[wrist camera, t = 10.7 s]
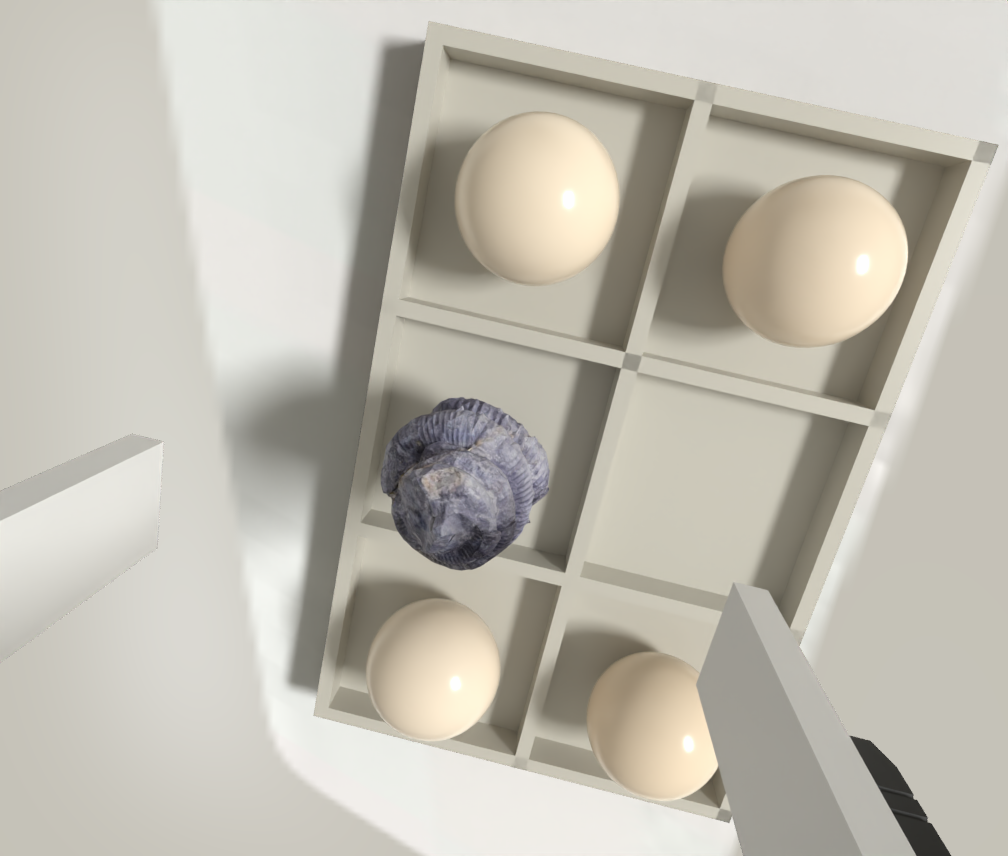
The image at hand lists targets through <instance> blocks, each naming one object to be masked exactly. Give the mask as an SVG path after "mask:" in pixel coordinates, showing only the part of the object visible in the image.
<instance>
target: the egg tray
mask: <svg viewBox="0 0 1008 856" xmlns="http://www.w3.org/2000/svg"><path fill="white" fill-rule="evenodd" d="M532 111H545V112H552V113H557V114H560V115H564V116H567V117H569V118H571V119H573V120H576V121H577V122H579V123H581V124H582V125H584V126H585V127H587V128H588V129H589V130H590V131H591V132H592V133H593V134H595V136H596V137H597V138H598V139H599V140H600V141H601V142H602V144H603V145H604V147H605V148H606V150H607V151H608V153H609V155H610V157H611V159H612V161H613V163H614V166H615V169H616V172H617V177H618V182H619V190H620V204H619V212H618V218H617V222H616V225H615V228H614V231H613V233H612V236H611V238H610V240H609V242H608V244H607V245H606V247H605V248H604V250H603V251H602V253H601V254H600V255H599V256H598V258H597V259H596V260H595V261H594V262H593V263H592V264H591V265H590V266H589V267H587V268H586V269H585V270H583V271H582V272H581V273H579V274H578V275H576V276H574V277H572V278H570V279H568V280H565V281H563V282H560V283H557V284H552V285H547V286H525V285H519V284H515V283H512V282H509V281H507V280H504V279H502V278H500V277H498V276H496V275H495V274H493V273H492V272H490V271H489V270H487V269H486V268H485V267H484V266H483V265H481V264H480V262H479V261H478V260H477V259H476V258H475V257H474V256H473V254H472V253H471V252H470V250H469V249H468V247H467V245H466V244H465V242H464V240H463V238H462V235H461V233H460V230H459V227H458V223H457V219H456V214H455V187H456V181H457V177H458V174H459V171H460V168H461V165H462V163H463V161H464V159H465V157H466V155H467V153H468V151H469V150H470V148H471V147H472V146H473V144H474V143H475V142H476V140H477V139H478V138H479V137H480V136H481V135H482V134H483V133H484V132H485V131H487V130H488V129H489V128H490V127H492V126H493V125H495V124H496V123H498V122H500V121H501V120H504V119H506V118H508V117H510V116H513V115H517V114H520V113H525V112H532ZM997 148H998V145H997V144H992V143H988V142H983V141H978V140H974V139H969V138H965V137H960V136H955V135H951V134H946V133H942V132H937V131H932V130H928V129H923V128H918V127H914V126H909V125H905V124H900V123H895V122H891V121H886V120H882V119H877V118H872V117H868V116H863V115H859V114H854V113H849V112H845V111H840V110H836V109H831V108H826V107H822V106H817V105H813V104H808V103H803V102H799V101H794V100H790V99H785V98H780V97H776V96H771V95H767V94H762V93H757V92H753V91H748V90H744V89H739V88H734V87H730V86H725V85H721V84H716V83H711V82H707V81H702V80H698V79H693V78H688V77H684V76H679V75H674V74H670V73H665V72H661V71H656V70H651V69H647V68H642V67H638V66H633V65H628V64H624V63H619V62H615V61H610V60H605V59H601V58H596V57H592V56H587V55H582V54H578V53H573V52H569V51H564V50H559V49H555V48H550V47H546V46H541V45H536V44H532V43H527V42H523V41H518V40H513V39H509V38H504V37H500V36H495V35H490V34H486V33H481V32H477V31H472V30H467V29H463V28H458V27H454V26H449V25H444V24H440V23H435V22H430V21H429V22H428V28H427V34H426V40H425V46H424V52H423V58H422V64H421V70H420V76H419V82H418V88H417V94H416V100H415V106H414V112H413V118H412V124H411V130H410V136H409V142H408V149H407V155H406V161H405V167H404V173H403V179H402V185H401V191H400V197H399V203H398V209H397V215H396V221H395V227H394V233H393V239H392V245H391V251H390V257H389V263H388V269H387V275H386V281H385V287H384V293H383V299H382V305H381V311H380V317H379V323H378V329H377V336H376V342H375V348H374V354H373V360H372V366H371V372H370V378H369V384H368V390H367V396H366V402H365V408H364V414H363V420H362V426H361V432H360V438H359V444H358V450H357V456H356V462H355V468H354V474H353V480H352V486H351V492H350V498H349V504H348V510H347V516H346V523H345V529H344V535H343V541H342V547H341V553H340V559H339V565H338V571H337V577H336V583H335V589H334V595H333V601H332V607H331V613H330V619H329V625H328V631H327V637H326V643H325V649H324V655H323V661H322V667H321V673H320V679H319V685H318V691H317V697H316V703H315V710H314V716H317V717H321V718H325V719H328V720H332V721H336V722H340V723H344V724H348V725H352V726H356V727H359V728H363V729H367V730H371V731H375V732H379V733H383V734H387V735H390V736H394V737H398V738H402V739H406V740H410V741H414V742H418V743H421V744H425V745H429V746H433V747H437V748H441V749H445V750H449V751H452V752H456V753H460V754H464V755H468V756H472V757H476V758H480V759H484V760H487V761H491V762H495V763H499V764H503V765H507V766H511V767H515V768H518V769H522V770H526V771H530V772H534V773H538V774H542V775H546V776H549V777H553V778H557V779H561V780H565V781H569V782H573V783H577V784H580V785H584V786H588V787H592V788H596V789H600V790H604V791H608V792H611V793H615V794H619V795H623V796H627V797H631V798H635V799H639V800H643V801H646V802H650V803H654V804H658V805H662V806H666V807H670V808H674V809H677V810H681V811H685V812H689V813H693V814H697V815H701V816H705V817H708V818H712V819H716V820H720V821H724V822H728V823H729V822H730V820H731V817H732V813H731V810H730V806H729V802H728V799H727V795H726V792H725V788H724V784H723V781H722V777H721V773H720V770H719V766H718V768H717V770H716V771H715V773H714V774H713V776H712V777H711V778H710V780H709V781H708V782H707V783H706V784H705V785H704V786H703V787H701V788H700V789H699V790H697V791H696V792H694V793H692V794H691V795H688V796H686V797H684V798H681V799H677V800H672V801H653V800H648V799H645V798H642V797H638V796H636V795H634V794H631V793H630V792H628V791H626V790H624V789H623V788H622V787H620V786H619V785H618V784H616V783H615V782H614V781H613V780H612V779H611V778H610V777H609V776H608V775H607V773H606V772H605V771H604V770H603V768H602V767H601V766H600V764H599V762H598V761H597V759H596V757H595V755H594V753H593V750H592V748H591V745H590V742H589V738H588V732H587V723H586V718H587V706H588V702H589V698H590V694H591V692H592V689H593V687H594V685H595V684H596V682H597V680H598V678H599V677H600V676H601V675H602V673H603V672H604V671H605V670H606V669H607V668H608V667H609V666H610V665H612V664H613V663H614V662H616V661H618V660H619V659H621V658H623V657H626V656H628V655H631V654H635V653H640V652H660V653H665V654H668V655H672V656H674V657H677V658H679V659H681V660H683V661H685V662H686V663H688V664H690V665H691V666H692V667H693V668H695V669H696V670H697V671H698V672H699V673H700V672H701V669H702V667H703V664H704V661H705V658H706V656H707V653H708V650H709V647H710V645H711V642H712V639H713V636H714V634H715V631H716V628H717V626H718V623H719V620H720V617H721V615H722V612H723V609H724V606H725V604H726V601H727V598H728V595H729V593H730V590H731V587H732V585H733V582H737V583H741V584H745V585H749V586H753V587H757V588H761V589H765V590H768V591H769V593H770V595H771V596H772V598H773V600H774V602H775V604H776V605H777V607H778V609H779V611H780V613H781V614H782V616H783V618H784V620H785V621H786V623H787V625H788V627H789V629H790V630H791V632H792V634H793V636H794V638H795V639H796V641H797V643H798V645H799V646H800V644H801V641H802V638H803V636H804V633H805V631H806V628H807V626H808V623H809V621H810V618H811V616H812V613H813V611H814V608H815V606H816V603H817V601H818V598H819V596H820V593H821V591H822V588H823V586H824V583H825V581H826V578H827V576H828V573H829V571H830V568H831V565H832V563H833V560H834V558H835V555H836V553H837V550H838V548H839V545H840V543H841V540H842V538H843V535H844V533H845V530H846V528H847V525H848V523H849V520H850V518H851V515H852V513H853V510H854V508H855V505H856V503H857V500H858V498H859V495H860V493H861V490H862V487H863V485H864V482H865V480H866V477H867V475H868V472H869V470H870V467H871V465H872V462H873V460H874V457H875V455H876V452H877V450H878V447H879V445H880V442H881V440H882V437H883V435H884V432H885V430H886V427H887V425H888V422H889V420H890V417H891V414H892V412H893V409H894V407H895V404H896V402H897V399H898V397H899V394H900V392H901V389H902V387H903V384H904V382H905V379H906V377H907V374H908V372H909V369H910V367H911V364H912V362H913V359H914V357H915V354H916V352H917V349H918V347H919V344H920V342H921V339H922V336H923V334H924V331H925V329H926V326H927V324H928V321H929V319H930V316H931V314H932V311H933V309H934V306H935V304H936V301H937V299H938V296H939V294H940V291H941V289H942V286H943V284H944V281H945V279H946V276H947V274H948V271H949V269H950V266H951V263H952V261H953V258H954V256H955V253H956V251H957V248H958V246H959V243H960V241H961V238H962V236H963V233H964V231H965V228H966V226H967V223H968V221H969V218H970V216H971V213H972V211H973V208H974V206H975V203H976V201H977V198H978V196H979V193H980V190H981V188H982V185H983V183H984V180H985V178H986V175H987V173H988V170H989V168H990V165H991V163H992V160H993V158H994V155H995V153H996V150H997ZM816 175H836V176H842V177H847V178H851V179H854V180H857V181H860V182H862V183H864V184H866V185H869V186H870V187H872V188H873V189H875V190H876V191H878V192H879V193H880V194H881V195H882V196H883V197H885V198H886V199H887V200H888V201H889V202H890V203H891V205H892V206H893V207H894V208H895V210H896V211H897V213H898V215H899V217H900V218H901V221H902V223H903V226H904V228H905V232H906V236H907V242H908V263H907V268H906V273H905V276H904V280H903V283H902V285H901V287H900V289H899V292H898V294H897V295H896V297H895V299H894V300H893V302H892V303H891V305H890V306H889V307H888V308H887V310H886V311H885V312H884V313H883V314H882V315H881V316H880V317H879V318H878V319H877V320H876V321H875V322H874V323H873V324H871V325H870V326H869V327H868V328H866V329H864V330H863V331H861V332H860V333H858V334H857V335H855V336H853V337H851V338H849V339H847V340H844V341H841V342H839V343H836V344H832V345H827V346H823V347H815V348H795V347H789V346H783V345H780V344H776V343H773V342H771V341H768V340H766V339H764V338H762V337H761V336H759V335H757V334H756V333H754V332H753V331H752V330H750V329H749V328H748V327H747V326H746V325H745V324H744V323H743V322H742V321H741V320H740V319H739V318H738V317H737V315H736V314H735V312H734V311H733V309H732V307H731V305H730V303H729V301H728V299H727V295H726V292H725V289H724V284H723V276H722V265H723V257H724V252H725V248H726V245H727V242H728V240H729V237H730V235H731V233H732V231H733V229H734V227H735V225H736V224H737V222H738V221H739V219H740V218H741V216H742V215H743V214H744V213H745V212H746V210H747V209H748V208H749V207H750V206H751V205H752V204H753V203H754V202H756V201H757V200H758V199H759V198H760V197H762V196H763V195H765V194H766V193H767V192H769V191H771V190H772V189H774V188H776V187H778V186H780V185H782V184H784V183H787V182H789V181H792V180H795V179H799V178H803V177H808V176H816ZM459 397H464V398H465V399H470V398H473V399H478V400H480V401H483V402H486V403H488V404H490V405H492V406H494V407H497V408H501V409H502V411H503V412H504V413H506V414H509V415H510V416H511V417H512V418H513V419H515V420H516V421H517V423H521V424H523V426H524V428H525V429H526V430H527V431H528V434H529V435H530V436H531V437H534V436H535V437H536V438H537V439H538V442H539V443H540V444H541V445H542V447H543V448H544V450H545V451H546V454H547V459H548V464H549V470H550V473H549V483H548V488H549V491H548V493H547V495H546V496H544V497H543V498H542V499H541V500H539V501H538V502H537V503H536V504H534V505H533V506H532V508H531V511H530V514H529V520H530V523H527V524H526V525H525V526H524V529H523V532H522V533H521V534H520V535H519V536H518V538H517V539H516V540H515V541H514V542H513V543H512V544H511V545H509V546H508V547H507V548H506V549H505V550H503V551H502V552H501V553H499V554H498V555H497V556H495V557H494V558H493V559H491V560H490V561H488V562H487V563H485V564H484V565H482V566H481V567H478V568H476V569H473V570H470V569H469V570H463V571H460V570H454V569H449V568H447V567H444V566H442V565H439V564H436V563H434V562H432V561H430V560H429V559H427V558H426V557H424V556H423V555H421V554H420V553H419V552H417V551H416V550H414V549H413V548H412V547H411V546H410V545H409V544H408V543H407V542H406V541H404V540H403V538H402V537H401V535H400V534H399V532H398V531H397V529H396V527H395V523H394V520H393V517H392V514H391V504H392V499H391V497H388V495H387V494H385V493H383V490H382V487H381V470H382V468H383V461H384V456H385V451H386V445H387V444H388V443H389V442H390V440H391V439H392V438H393V437H394V435H395V434H396V433H397V431H398V430H399V429H400V428H402V427H403V426H405V425H406V424H408V423H409V422H410V421H411V420H412V419H414V418H417V417H419V416H421V415H426V414H430V413H431V412H432V411H433V408H435V407H436V406H437V405H438V404H439V403H440V402H441V401H444V400H446V399H448V398H459ZM431 598H441V599H448V600H452V601H455V602H458V603H461V604H463V605H465V606H467V607H468V608H470V609H472V610H473V611H474V612H475V613H477V614H478V615H479V616H480V617H481V618H482V619H483V620H484V622H485V623H486V624H487V625H488V627H489V628H490V630H491V632H492V634H493V636H494V638H495V641H496V643H497V646H498V650H499V655H500V663H501V664H500V679H499V685H498V688H497V691H496V694H495V697H494V699H493V701H492V703H491V705H490V707H489V708H488V710H487V711H486V713H485V714H484V715H483V716H482V718H481V719H480V720H479V721H478V722H477V723H476V724H475V725H473V726H472V727H471V728H469V729H468V730H467V731H465V732H463V733H462V734H460V735H457V736H455V737H452V738H450V739H446V740H441V741H420V740H415V739H412V738H409V737H406V736H404V735H402V734H400V733H399V732H397V731H395V730H394V729H393V728H391V727H390V726H389V725H388V724H387V723H386V722H385V721H384V720H383V719H382V718H381V717H380V715H379V714H378V712H377V711H376V709H375V708H374V706H373V704H372V702H371V699H370V696H369V693H368V689H367V684H366V662H367V656H368V652H369V649H370V646H371V643H372V641H373V639H374V637H375V635H376V634H377V632H378V630H379V629H380V627H381V626H382V625H383V623H384V622H385V621H386V620H387V619H388V618H389V617H390V616H391V615H392V614H394V613H395V612H396V611H398V610H399V609H401V608H402V607H404V606H406V605H408V604H410V603H413V602H416V601H419V600H424V599H431Z"/></svg>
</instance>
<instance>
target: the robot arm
mask: <svg viewBox="0 0 1008 856" xmlns="http://www.w3.org/2000/svg"><path fill="white" fill-rule="evenodd" d="M163 449H164V442H163V441H160V440H156V439H151V438H147V437H143V436H139V435H135V434H130V435H128V436H126V437H123V438H121V439H119V440H116V441H114V442H112V443H109V444H108V445H105V446H103V447H100V448H98V449H96V450H93V451H91V452H89V453H86V454H84V455H82V456H80V457H77V458H75V459H72V460H70V461H68V462H66V463H63V464H61V465H59V466H56V467H54V468H52V469H49V470H47V471H45V472H42V473H40V474H38V475H35V476H33V477H31V478H28V479H26V480H24V481H22V482H19V483H17V484H15V485H12V486H10V487H8V488H5V489H3V490H1V491H0V663H1V662H3V661H4V660H5V659H7V658H8V657H10V656H11V655H12V654H14V653H15V652H16V651H18V650H19V649H21V648H22V647H23V646H25V645H26V644H27V643H29V642H30V641H31V640H33V639H34V638H35V637H37V636H38V635H40V634H41V633H42V632H44V631H45V630H46V629H48V628H49V627H51V626H52V625H53V624H55V623H56V622H57V621H59V620H60V619H61V618H63V617H64V616H65V615H67V614H68V613H70V612H71V611H72V610H74V609H75V608H76V607H78V606H79V605H81V604H82V603H83V602H84V601H86V600H87V599H89V598H90V597H91V596H93V595H94V594H96V593H97V592H98V591H100V590H101V589H102V588H104V587H105V586H106V585H108V584H109V583H110V582H112V581H113V580H114V579H116V578H117V577H119V576H120V575H121V574H123V573H124V572H126V571H127V570H128V569H130V568H131V567H132V566H134V565H135V564H137V563H138V562H139V561H141V560H142V559H143V558H145V557H146V556H147V555H149V554H150V553H151V552H153V551H154V550H156V549H157V545H158V529H159V513H160V498H161V482H162V466H163V451H164V450H163ZM696 687H697V690H698V694H699V697H700V701H701V705H702V708H703V712H704V715H705V719H706V723H707V726H708V730H709V734H710V737H711V741H712V744H713V748H714V752H715V755H716V759H717V763H718V766H719V770H720V773H721V777H722V781H723V784H724V788H725V792H726V795H727V799H728V802H729V806H730V810H731V813H732V817H733V820H734V824H735V828H736V831H737V835H738V839H739V842H740V846H741V849H742V853H743V856H951V855H950V853H949V851H948V850H947V848H946V847H945V845H944V843H943V842H942V840H941V839H940V837H939V835H938V834H937V832H936V830H935V829H934V827H933V825H932V824H931V823H928V822H927V816H926V814H925V812H924V811H923V809H922V808H921V806H920V804H919V803H918V801H917V800H914V799H913V793H912V791H911V790H910V788H909V786H908V785H907V783H906V782H905V780H904V778H903V777H902V775H901V773H900V772H899V770H898V769H897V767H896V766H895V765H894V764H893V763H892V762H891V761H890V760H889V759H888V758H887V757H886V756H885V755H884V754H883V753H882V752H881V751H880V750H879V749H878V748H877V747H876V746H875V745H874V744H873V743H872V742H871V741H869V740H865V739H860V738H856V737H853V736H849V734H848V733H847V731H846V729H845V727H844V725H843V724H842V722H841V720H840V718H839V716H838V715H837V713H836V711H835V709H834V708H833V706H832V704H831V702H830V700H829V699H828V697H827V695H826V693H825V691H824V690H823V688H822V686H821V684H820V682H819V681H818V679H817V677H816V675H815V673H814V672H813V670H812V668H811V666H810V664H809V663H808V661H807V659H806V657H805V656H804V654H803V652H802V650H801V648H800V647H799V645H798V643H797V641H796V639H795V638H794V636H793V634H792V632H791V630H790V629H789V627H788V625H787V623H786V621H785V620H784V618H783V616H782V614H781V613H780V611H779V609H778V607H777V605H776V604H775V602H774V600H773V598H772V596H771V595H770V593H769V591H768V590H765V589H761V588H757V587H753V586H749V585H745V584H741V583H737V582H733V585H732V587H731V590H730V593H729V595H728V598H727V601H726V604H725V606H724V609H723V612H722V615H721V617H720V620H719V623H718V626H717V628H716V631H715V634H714V636H713V639H712V642H711V645H710V647H709V650H708V653H707V656H706V658H705V661H704V664H703V667H702V669H701V672H700V675H699V677H698V680H697V683H696Z"/></svg>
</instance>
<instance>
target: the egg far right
mask: <svg viewBox="0 0 1008 856" xmlns="http://www.w3.org/2000/svg"><path fill="white" fill-rule="evenodd" d="M699 675H700V673H699V672H698V671H697V670H696V669H695V668H693V667H692V666H691V665H690V664H688V663H686V662H685V661H683V660H681V659H679V658H677V657H674V656H672V655H668V654H665V653H660V652H640V653H635V654H631V655H628V656H626V657H623V658H621V659H619V660H618V661H616V662H614V663H613V664H612V665H610V666H609V667H608V668H607V669H606V670H605V671H604V672H603V673H602V675H601V676H600V677H599V678H598V680H597V682H596V684H595V685H594V687H593V689H592V692H591V694H590V698H589V702H588V706H587V718H586V723H587V732H588V738H589V742H590V745H591V748H592V750H593V753H594V755H595V757H596V759H597V761H598V762H599V764H600V766H601V767H602V768H603V770H604V771H605V772H606V773H607V775H608V776H609V777H610V778H611V779H612V780H613V781H614V782H615V783H616V784H618V785H619V786H620V787H622V788H623V789H624V790H626V791H628V792H630V793H631V794H634V795H636V796H638V797H642V798H645V799H648V800H653V801H672V800H677V799H681V798H684V797H686V796H688V795H691V794H692V793H694V792H696V791H697V790H699V789H700V788H701V787H703V786H704V785H705V784H706V783H707V782H708V781H709V780H710V778H711V777H712V776H713V774H714V773H715V771H716V770H717V768H718V763H717V759H716V755H715V752H714V748H713V744H712V741H711V737H710V734H709V730H708V726H707V723H706V719H705V715H704V712H703V708H702V705H701V701H700V697H699V694H698V690H697V687H696V683H697V680H698V677H699Z"/></svg>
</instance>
